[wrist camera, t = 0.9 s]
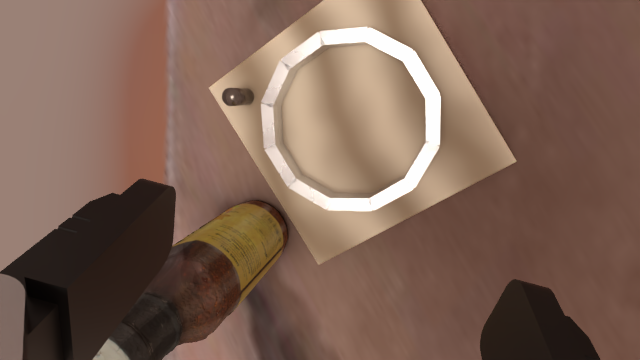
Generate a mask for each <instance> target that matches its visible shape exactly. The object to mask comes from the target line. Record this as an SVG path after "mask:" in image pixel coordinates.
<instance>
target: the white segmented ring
mask: <svg viewBox="0 0 640 360" xmlns="http://www.w3.org/2000/svg"><path fill="white" fill-rule="evenodd" d="M359 45H370V46H372V47H374V48H376V49H378V50H380V51H382V52H384V53H386V54H388V55H390V56H392V57H394V58H396V59H398V60H399V61H401V62H403V63H405V65H406V67H407V68H408V70H409V72H410V73H411V75H412V77H413V78H414V80H415V82H416V83H417V85H418V87H419V88H420V90H421V92H422V93H423V95H424V97H425V98H426V141H425V143H424V144H423V146H422V148H421V149H420V151H419V153H418V154H417V156H416V158H415V160H414V161H413V163H412V165H411V166H410V168H409V170H408V171H407V173H406V174H405V175H403V176H402V177H400V178H398V179H396V180H395V181H393V182H391V183H389V184H387V185H386V186H384V187H382V188H380V189H378V190H377V191H375V192H373V193H335V192H333V191H332V190H330V189H328V188H326V187H325V186H323V185H321V184H319V183H318V182H316V181H314V180H312V179H311V178H309V177H307V176H306V175H304V174H303V173H302V171H301V170H300V168H299V167H298V165H297V163H296V162H295V160H294V158H293V157H292V155H291V154H290V152H289V150H288V149H287V147H286V145H285V144H284V137H283V121H282V103H283V101H284V99H285V97H286V94H287V92H288V90H289V88H290V86H291V84H292V81H293V79H294V77H295V75H296V73H297V71H298V70H299V69H300V68H302V67H303V66H305V65H306V64H307V63H309V62H310V61H312V60H313V59H314V58H316V57H317V56H319V55H320V54H321V53H323V52H324V51H326V50H327V49H328V48H333V47H346V46H359ZM281 60H282V61H279V63H278V65H277V68H276V70H275V72H274V74H273V77H272V79H271V81H270V83H269V85H268V88H267V90H266V92H265V94H264V97H263V99H262V101H261V102H262V103H264V104H261V114H262V128H263V142H264V148H266V149H265V151H266V153H267V155H268V156H269V158H270V159H271V161H272V163H273V164H274V166H275V168H276V169H277V171H278V172H279V174H280V176H281V177H282V179H283V181H284V182H285V184H286V185H287V187H288V186H289V189H291V190H293V191H295V192H296V193H298V194H300V195H301V196H303V197H305V198H307V199H308V200H310V201H312V202H313V203H315V204H317V205H319V206H320V207H322V208H324V209H327V208H328V210H335V211H372V210H373V211H374V210H376V209H378V208H380V207H382V206H383V205H385V204H387V203H389V202H391V201H393V200H394V199H396V198H398V197H400V196H402V195H404V194H405V193H407V192H409V191H411V190H413V189H414V188H415V187H416V185H417V184H418V182H419V180H420V179H421V177H422V175H423V174H424V172H425V170H426V169H427V167H428V165H429V164H430V162H431V160H432V159H433V157H434V155H435V154H436V152H437V150H438V149H439V147H440V146H439V145H440V95H439V96H437V95H438V94H440V93H439V91H438V89H437V88H436V86H435V84H434V83H433V81H432V79H431V78H430V76H429V74H428V73H427V71H426V69H425V68H424V66H423V64H422V63H421V61H420V59H419V58H418V56H417V54H416V53H415V51H413V49H411V48H409V47H407V46H405V45H403V44H401V43H399V42H397V41H395V40H393V39H392V38H390V37H388V36H386V35H384V34H382V33H380V32H378V31H376V30H374V29H372V28H370V27H369V28H368V27H359V28H348V29H337V30H326V31H320V32H317V33H316V34H314V35H313V36H312V37H310V38H309V39H308V40H306V41H305V42H303V43H302V44H301V45H299V46H298V47H297V48H295V49H294V50H293V51H291V52H290V53H288V54H287V55H286V56H284V57H283V58H282V59H281ZM222 100H223V102H224V103H225V104H226V105H228V106H242V105H250V104H251V103H252V102H253V100H254V94H253V92H252V91H251V90H250V89H248V88H227V89H225V90H224V91H223V93H222Z"/></svg>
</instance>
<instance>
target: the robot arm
mask: <svg viewBox="0 0 640 360" xmlns="http://www.w3.org/2000/svg"><path fill="white" fill-rule="evenodd" d="M175 201H176V192H175V189H174V187H172V186H168V185H164V184H161V183H157V182H153V181H149V180H146V179H139V180H138V181H137V182H135V183H134V184H133V185H132V186H131V187H129V188H128V189H127V190H126V191H125V192H123V193H122V194H121V195H118V194H114V193H111V194H109V195H106V196H103V197H101V198H98V199H96V200H93V201H90V202H89V203H88V204H86V205H85V206H84V207H82V208H81V209H80V210H79V211H77V212H76V213H75V214H74V215H73V217H72V218H68V219H67V220H66V221H65V222H63V223H62V224H61V225H59V227H58V229H54V230H53V231H52V232H51V233H49V234H48V235H47V236H45V237H44V238H43V239H42V240H40V241H39V242H38V243H37V244H35V245H34V246H33V247H31V248H30V249H29V250H28V251H26V252H25V253H24V254H22V255H21V256H20V257H19V258H17V259H16V260H15V261H14V262H12V263H11V264H10V265H8V266H7V267H6V268H5V269H4V270H2V271H1V272H0V360H93V358H94V357H95V356H96V354H97V353H98V352H99V350H100V349H101V348H102V346H103V345H104V344H105V342H106V341H107V340H108V338H109V337H110V336H111V334H112V333H113V332H114V330H115V329H116V328H117V326H118V325H119V324H120V322H121V321H122V320H123V318H124V317H125V316H126V315H127V313H128V312H129V311H130V309H131V308H132V307H133V305H134V304H135V303H136V301H137V300H138V299H139V297H140V296H141V295H142V293H143V292H144V291H145V289H146V288H147V287H148V285H149V284H150V283H151V281H152V280H153V279H154V277H155V276H156V275H157V273H158V272H159V271H160V269H161V268H162V267H163V265H164V264H165V262H166V260H167V258H168V256H169V254H170V251H171V248H172V243H173V233H174V217H175ZM480 351H481V356H482V360H600V358H599V356H598V354H597V352H596V350H595V348H594V347H593V345H592V343H591V341H590V339H589V337H588V336H587V335H586V334H585V333H584V332H583V331H582V330H581V329H580V328H579V327H578V326H577V324H576V323H575V322H574V321H573V320H572V319H571V318H570V317H568V316H565V315H564V313H563V311H562V309H561V307H560V305H559V303H558V301H557V299H556V297H555V295H554V293H553V292H552V291H551V289H549V288H546V287H542V286H539V285H535V284H531V283H527V282H524V281H520V280H516V279H515V280H512V281H511V282H509V284H508V285H507V286H506V288H505V290H504V292H503V293H502V295H501V297H500V299H499V301H498V302H497V304H496V306H495V308H494V309H493V311H492V313H491V315H490V316H489V318H488V320H487V322H486V323H485V325H484V328H483V330H482V334H481V340H480Z"/></svg>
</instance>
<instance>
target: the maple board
mask: <svg viewBox="0 0 640 360" xmlns="http://www.w3.org/2000/svg"><path fill="white" fill-rule="evenodd" d="M359 27H368V28H369V27H370V28H372V29H374V30H376V31H378V32H380V33H382V34H384V35H386V36H388V37H390V38H392V39H393V40H395V41H397V42H399V43H401V44H403V45H405V46H407V47H409V48H411V49H413V51H415V53H416V54H417V56H418V58H419V59H420V61H421V63H422V64H423V66H424V68H425V69H426V71H427V73H428V74H429V76H430V78H431V79H432V81H433V83H434V84H435V86H436V88H437V89H438V91H439V93H440V94H438V95H437V96H439V95H440V145H439V146H440V147H439V149H438V150H437V152H436V154H435V155H434V157H433V159H432V160H431V162H430V164H429V165H428V167H427V169H426V170H425V172H424V174H423V175H422V177H421V179H420V180H419V182H418V184H417V185H416V187H415V188H414V189H413V190H411V191H409V192H407V193H405V194H404V195H402V196H400V197H398V198H396V199H394V200H393V201H391V202H389V203H387V204H385V205H383V206H382V207H380V208H378V209H376V210H374V211H373V210H372V211H335V210H328V208H327V209H324V208H322V207H320V206H319V205H317V204H315V203H313V202H312V201H310V200H308V199H307V198H305V197H303V196H301V195H300V194H298V193H296V192H295V191H293V190H291V189H289V186H288V187H287V185H286V184H285V182H284V181H283V179H282V177H281V176H280V174H279V172H278V171H277V169H276V168H275V166H274V164H273V163H272V161H271V159H270V158H269V156H268V155H267V153H266V151H265V149H266V148H264V142H263V128H262V114H261V104H264V103H262V102H261V101H262V99H263V97H264V94H265V92H266V90H267V88H268V85H269V83H270V81H271V79H272V77H273V74H274V72H275V70H276V68H277V65H278V63H279V61H282V60H281V59H282V58H283V57H284V56H286V55H287V54H288V53H290V52H291V51H293V50H294V49H295V48H297V47H298V46H299V45H301V44H302V43H303V42H305V41H306V40H308V39H309V38H310V37H312V36H313V35H314V34H316V33H317V32H320V31H326V30H337V29H348V28H359ZM227 88H248V89H250V90H251V91H252V92H253V94H254V100H253V102H252V103H251V104H250V105H242V106H228V105H226V104H225V103H224V102H223V100H222V93H223V91H224V90H225V89H227ZM209 89H210V91H211V92H212V94H213V95H214V97H215V99H216V100H217V102H218V103H219V105H220V107H221V108H222V110H223V112H224V113H225V115H226V116H227V118H228V120H229V121H230V123H231V124H232V126H233V128H234V129H235V131H236V132H237V134H238V136H239V137H240V139H241V141H242V142H243V144H244V145H245V147H246V149H247V150H248V152H249V153H250V155H251V157H252V158H253V160H254V162H255V163H256V165H257V166H258V168H259V170H260V171H261V173H262V174H263V176H264V178H265V179H266V181H267V182H268V184H269V186H270V187H271V189H272V191H273V192H274V194H275V195H276V197H277V199H278V200H279V202H280V203H281V205H282V207H283V208H284V210H285V212H286V213H287V215H288V216H289V218H290V220H291V221H292V223H293V224H294V226H295V228H296V229H297V231H298V232H299V234H300V236H301V237H302V239H303V241H304V242H305V244H306V245H307V247H308V249H309V250H310V252H311V253H312V255H313V257H314V258H315V260H316V261H317V263H318V265H319V264H321V263H323V262H325V261H327V260H329V259H331V258H333V257H335V256H337V255H339V254H340V253H342V252H344V251H346V250H348V249H350V248H352V247H354V246H356V245H358V244H360V243H361V242H363V241H365V240H367V239H369V238H371V237H373V236H375V235H377V234H379V233H381V232H383V231H384V230H386V229H388V228H390V227H392V226H394V225H396V224H398V223H400V222H402V221H404V220H406V219H407V218H409V217H411V216H413V215H415V214H417V213H419V212H421V211H423V210H425V209H427V208H428V207H430V206H432V205H434V204H436V203H438V202H440V201H442V200H444V199H446V198H448V197H450V196H451V195H453V194H455V193H457V192H459V191H461V190H463V189H465V188H467V187H469V186H471V185H473V184H474V183H476V182H478V181H480V180H482V179H484V178H486V177H488V176H490V175H492V174H494V173H496V172H497V171H499V170H501V169H503V168H505V167H507V166H509V165H511V164H513V163H515V162H517V161H516V159H515V158H514V156H513V154H512V153H511V151H510V149H509V148H508V146H507V144H506V143H505V141H504V139H503V138H502V136H501V134H500V132H499V131H498V129H497V127H496V126H495V124H494V122H493V121H492V119H491V117H490V116H489V114H488V112H487V111H486V109H485V107H484V106H483V104H482V102H481V101H480V99H479V97H478V95H477V94H476V92H475V90H474V89H473V87H472V85H471V84H470V82H469V80H468V79H467V77H466V75H465V74H464V72H463V70H462V69H461V67H460V65H459V64H458V62H457V60H456V58H455V57H454V55H453V53H452V52H451V50H450V48H449V47H448V45H447V43H446V42H445V40H444V38H443V37H442V35H441V33H440V32H439V30H438V28H437V27H436V25H435V23H434V21H433V20H432V18H431V16H430V15H429V13H428V11H427V10H426V8H425V6H424V5H423V3H422V1H421V0H324V1H322V2H321V3H320V4H318V5H317V6H316V7H314V8H313V9H312V10H310V11H309V12H308V13H306V14H305V15H304V16H302V17H301V18H300V19H299V20H297V21H296V22H295V23H293V24H292V25H291V26H289V27H288V28H287V29H285V30H284V31H283V32H281V33H280V34H279V35H278V36H276V37H275V38H274V39H272V40H271V41H270V42H268V43H267V44H266V45H264V46H263V47H262V48H260V49H259V50H258V51H256V52H255V53H254V54H253V55H251V56H250V57H249V58H247V59H246V60H245V61H243V62H242V63H241V64H239V65H238V66H237V67H235V68H234V69H233V70H232V71H230V72H229V73H228V74H226V75H225V76H224V77H222V78H221V79H220V80H218V81H217V82H216V83H214V84H213V85H212V86H210V87H209ZM282 121H283V137H284V144H285V145H286V147H287V149H288V150H289V152H290V154H291V155H292V157H293V158H294V160H295V162H296V163H297V165H298V167H299V168H300V170H301V171H302V173H303V174H304V175H306V176H307V177H309V178H311V179H312V180H314V181H316V182H318V183H319V184H321V185H323V186H325V187H326V188H328V189H330V190H332V191H333V192H335V193H373V192H375V191H377V190H378V189H380V188H382V187H384V186H386V185H387V184H389V183H391V182H393V181H395V180H396V179H398V178H400V177H402V176H403V175H405V174H406V173H407V171H408V170H409V168H410V166H411V165H412V163H413V161H414V160H415V158H416V156H417V154H418V153H419V151H420V149H421V148H422V146H423V144H424V143H425V141H426V98H425V97H424V95H423V93H422V92H421V90H420V88H419V87H418V85H417V83H416V82H415V80H414V78H413V77H412V75H411V73H410V72H409V70H408V68H407V67H406V65H405V63H403V62H401V61H399V60H398V59H396V58H394V57H392V56H390V55H388V54H386V53H384V52H382V51H380V50H378V49H376V48H374V47H372V46H370V45H359V46H346V47H333V48H328V49H327V50H326V51H324V52H323V53H321V54H320V55H319V56H317V57H316V58H314V59H313V60H312V61H310V62H309V63H307V64H306V65H305V66H303V67H302V68H300V69H299V70H298V71H297V73H296V75H295V77H294V79H293V81H292V84H291V86H290V88H289V90H288V92H287V94H286V97H285V99H284V101H283V103H282Z"/></svg>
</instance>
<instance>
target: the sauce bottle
mask: <svg viewBox="0 0 640 360" xmlns="http://www.w3.org/2000/svg"><path fill="white" fill-rule="evenodd" d="M286 242H287V229H286V225H285V223H284V221H283V218H282V216H281V215H280V214H279V212H278V211H277V210H276V209H275V208H273V207H272V206H270V205H268V204H267V203H263V202H261V201H248V202H245V203H243V204H239V205H236V206H233V207H231V208H230V209H228V210H227V211H225V212H224V213H222V214H221V215H219V216H218V217H216V218H215V219H213V220H211V221H210V222H208V223H206V224H205V225H203V226H202V227H200V228H199V229H198V230H196V231H194V232H193V233H191V234H190V235H188V236H187V237H185V238H184V239H182V240H181V241H179V242H177V243H176V244H175V245H173V246H172V248H171V251H170V254H169V256H168V258H167V260H166V262H165V264H164V265H163V267H162V268H161V269H160V271H159V272H158V273H157V275H156V276H155V277H154V279H153V280H152V281H151V283H150V284H149V285H148V287H147V288H146V289H145V291H144V292H143V293H142V295H141V296H140V297H139V299H138V300H137V301H136V303H135V304H134V305H133V307H132V308H131V309H130V311H129V312H128V313H127V315H126V316H125V317H124V318H123V320H122V321H121V322H120V324H119V325H118V326H117V328H116V329H115V330H114V332H113V333H112V334H111V336H110V337H109V338H108V340H107V341H106V342H105V344H104V345H103V346H102V348H101V349H100V350H99V352H98V353H97V354H96V356H95V357H94V358H93V360H162V359H163V357H164V356H165V355H167V354H168V353H170V352H171V351H173V349H174V348H175V347H176V346H177V345H180V344H183V343H192V342H197V341H200V340H203V339H206V338H207V336H208V335H209V334H211V333H212V332H214V331H215V330H216V328H217V327H218V326H219V325H220V324H221V323H222V321H223V320H224V319H225V318H226V317H227V316H228V315H230V314H231V313H232V312H233V311H234V310H235V309H236V308H237V306H238V305H239V304H240V303H241V302H242V301H243V299H244V298H245V297H246V296H247V295H248V294H249V292H250V291H251V290H252V289H253V288H254V286H255V285H256V284H257V283H258V282H259V281H260V279H261V278H262V277H263V276H264V275H265V274H266V272H267V271H268V270H269V269H270V268H271V267H272V265H273V264H274V263H275V262H276V261H277V260H278V258H279V257H280V255H281V253H282V251H283V249H284V247H285V244H286Z"/></svg>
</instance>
